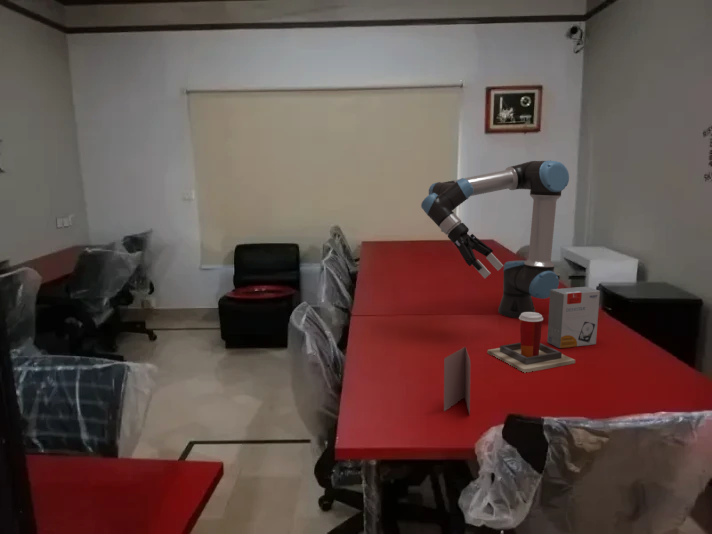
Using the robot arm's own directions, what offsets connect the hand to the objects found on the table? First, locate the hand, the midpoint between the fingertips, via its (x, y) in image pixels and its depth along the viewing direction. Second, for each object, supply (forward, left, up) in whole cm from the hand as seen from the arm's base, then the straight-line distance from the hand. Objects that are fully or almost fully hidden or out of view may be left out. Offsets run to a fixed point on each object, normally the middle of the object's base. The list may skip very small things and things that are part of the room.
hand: (494, 272), depth 198 cm
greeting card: (+42, -38, -27) cm, 62 cm away
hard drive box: (+13, +25, -27) cm, 38 cm away
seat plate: (+19, +2, -26) cm, 32 cm away
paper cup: (+19, +2, -25) cm, 31 cm away
